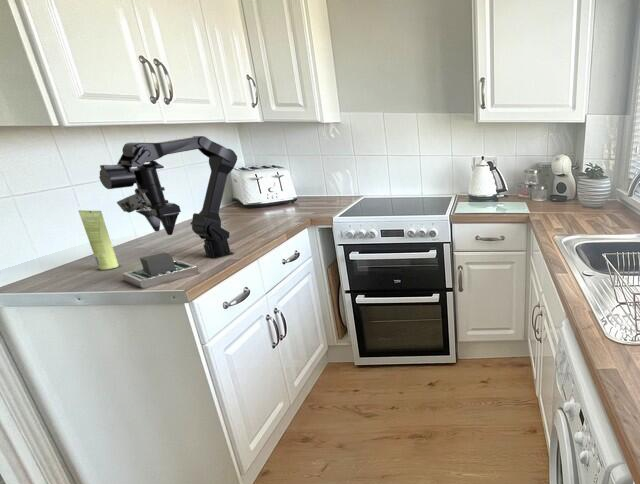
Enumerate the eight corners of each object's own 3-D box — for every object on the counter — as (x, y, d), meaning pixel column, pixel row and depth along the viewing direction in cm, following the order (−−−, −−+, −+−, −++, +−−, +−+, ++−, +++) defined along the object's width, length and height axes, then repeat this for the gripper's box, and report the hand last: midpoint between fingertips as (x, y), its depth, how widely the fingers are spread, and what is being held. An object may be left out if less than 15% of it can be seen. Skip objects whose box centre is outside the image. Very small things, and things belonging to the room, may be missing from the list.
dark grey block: (169, 267, 133) (164, 252, 132) (176, 269, 131) (171, 254, 129) (144, 273, 128) (139, 257, 126) (151, 275, 126) (146, 260, 124)
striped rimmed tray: (180, 266, 139) (177, 259, 138) (198, 273, 133) (196, 266, 132) (124, 280, 127) (121, 273, 126) (142, 288, 121) (139, 280, 120)
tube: (121, 264, 142) (102, 207, 136) (121, 267, 139) (100, 210, 132) (99, 267, 139) (78, 210, 132) (98, 271, 135) (76, 212, 129)
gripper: (103, 185, 127) (120, 235, 132) (128, 190, 118) (145, 243, 123) (147, 181, 136) (162, 227, 141) (174, 185, 127) (188, 234, 132)
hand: (163, 233), depth 134 cm, fingers open, 9 cm apart
